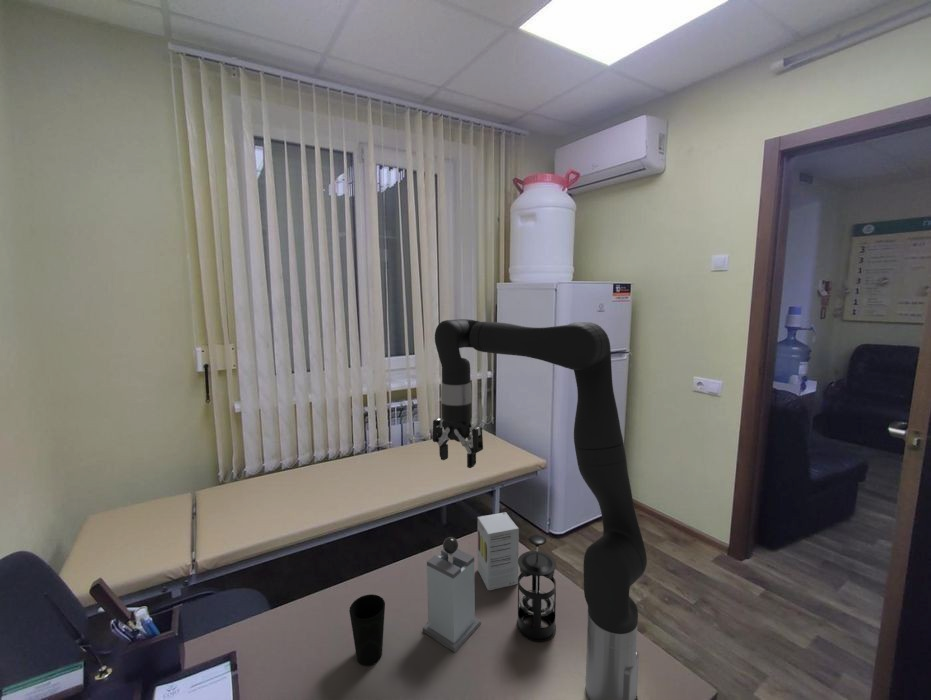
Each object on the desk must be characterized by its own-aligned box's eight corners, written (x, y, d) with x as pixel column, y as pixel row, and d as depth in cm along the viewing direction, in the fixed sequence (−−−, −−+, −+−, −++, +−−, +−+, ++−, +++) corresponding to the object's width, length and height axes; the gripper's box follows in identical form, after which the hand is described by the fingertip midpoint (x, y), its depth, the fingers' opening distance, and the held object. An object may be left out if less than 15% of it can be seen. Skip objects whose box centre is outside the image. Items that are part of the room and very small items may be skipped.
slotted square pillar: (480, 624, 100) (480, 556, 98) (455, 652, 93) (454, 579, 90) (449, 606, 106) (447, 541, 104) (422, 631, 99) (420, 561, 96)
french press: (557, 646, 94) (559, 553, 91) (516, 642, 95) (517, 550, 92) (553, 608, 105) (555, 524, 102) (517, 605, 107) (517, 522, 104)
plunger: (468, 601, 99) (467, 536, 97) (453, 615, 95) (452, 548, 93) (449, 591, 103) (448, 528, 101) (434, 604, 98) (432, 539, 96)
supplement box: (476, 569, 121) (476, 516, 119) (505, 563, 123) (505, 510, 121) (488, 591, 112) (488, 534, 109) (519, 584, 114) (519, 527, 112)
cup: (351, 674, 87) (349, 623, 86) (351, 645, 95) (349, 597, 93) (388, 665, 89) (386, 615, 88) (385, 637, 97) (383, 591, 95)
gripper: (488, 401, 100) (489, 464, 102) (444, 393, 109) (445, 452, 111) (470, 408, 94) (471, 475, 96) (424, 399, 103) (426, 461, 105)
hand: (457, 463), depth 103 cm, fingers open, 8 cm apart
